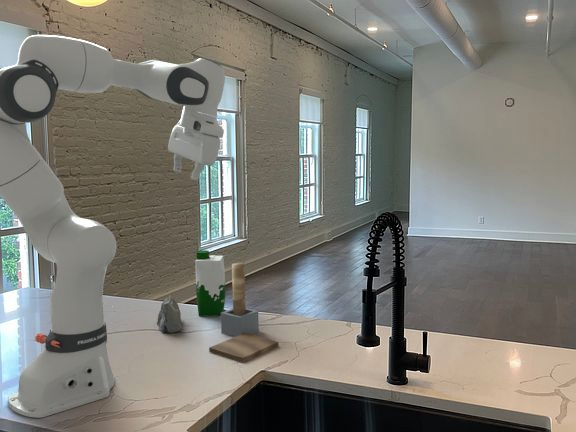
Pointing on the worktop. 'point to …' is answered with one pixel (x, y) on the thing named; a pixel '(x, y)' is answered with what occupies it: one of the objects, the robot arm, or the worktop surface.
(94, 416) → the worktop surface
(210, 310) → the milk carton
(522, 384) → the worktop surface
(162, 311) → the mineral rock
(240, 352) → the tray
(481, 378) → the worktop surface
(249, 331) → the open box
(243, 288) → the dowel
